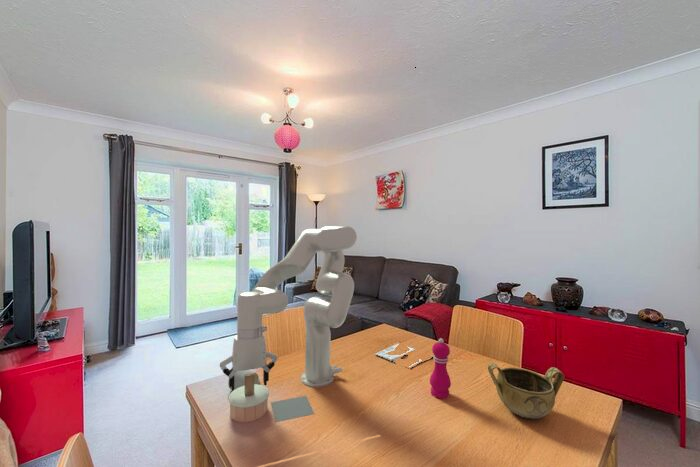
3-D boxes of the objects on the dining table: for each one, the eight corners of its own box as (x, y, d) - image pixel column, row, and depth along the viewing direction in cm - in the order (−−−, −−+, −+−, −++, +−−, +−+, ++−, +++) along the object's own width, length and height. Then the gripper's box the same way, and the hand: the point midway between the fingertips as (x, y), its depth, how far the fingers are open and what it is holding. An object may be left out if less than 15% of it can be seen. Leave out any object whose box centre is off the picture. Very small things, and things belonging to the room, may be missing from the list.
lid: (266, 387, 105) (267, 364, 105) (271, 406, 94) (271, 380, 93) (228, 393, 100) (229, 369, 100) (228, 414, 89) (229, 387, 89)
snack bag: (399, 346, 155) (399, 342, 155) (434, 359, 140) (434, 354, 140) (373, 356, 142) (373, 352, 142) (409, 372, 127) (409, 367, 127)
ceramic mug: (246, 398, 105) (247, 376, 105) (227, 393, 108) (228, 371, 108) (265, 384, 115) (266, 364, 115) (247, 380, 117) (248, 360, 117)
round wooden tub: (264, 399, 104) (265, 384, 104) (269, 418, 94) (269, 402, 94) (230, 406, 100) (230, 390, 100) (230, 426, 90) (230, 409, 90)
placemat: (306, 396, 106) (306, 395, 106) (314, 414, 96) (314, 413, 96) (270, 403, 102) (270, 402, 102) (275, 423, 92) (275, 422, 92)
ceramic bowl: (498, 426, 93) (499, 376, 92) (479, 395, 109) (480, 353, 109) (576, 431, 91) (578, 381, 90) (545, 399, 108) (546, 357, 107)
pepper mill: (451, 391, 111) (453, 337, 111) (449, 402, 105) (450, 343, 105) (431, 387, 114) (432, 333, 114) (427, 396, 108) (428, 340, 108)
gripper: (276, 325, 103) (275, 376, 104) (220, 331, 97) (219, 385, 97) (279, 332, 96) (278, 387, 97) (219, 339, 90) (219, 397, 90)
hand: (249, 386), depth 97 cm, fingers open, 9 cm apart
